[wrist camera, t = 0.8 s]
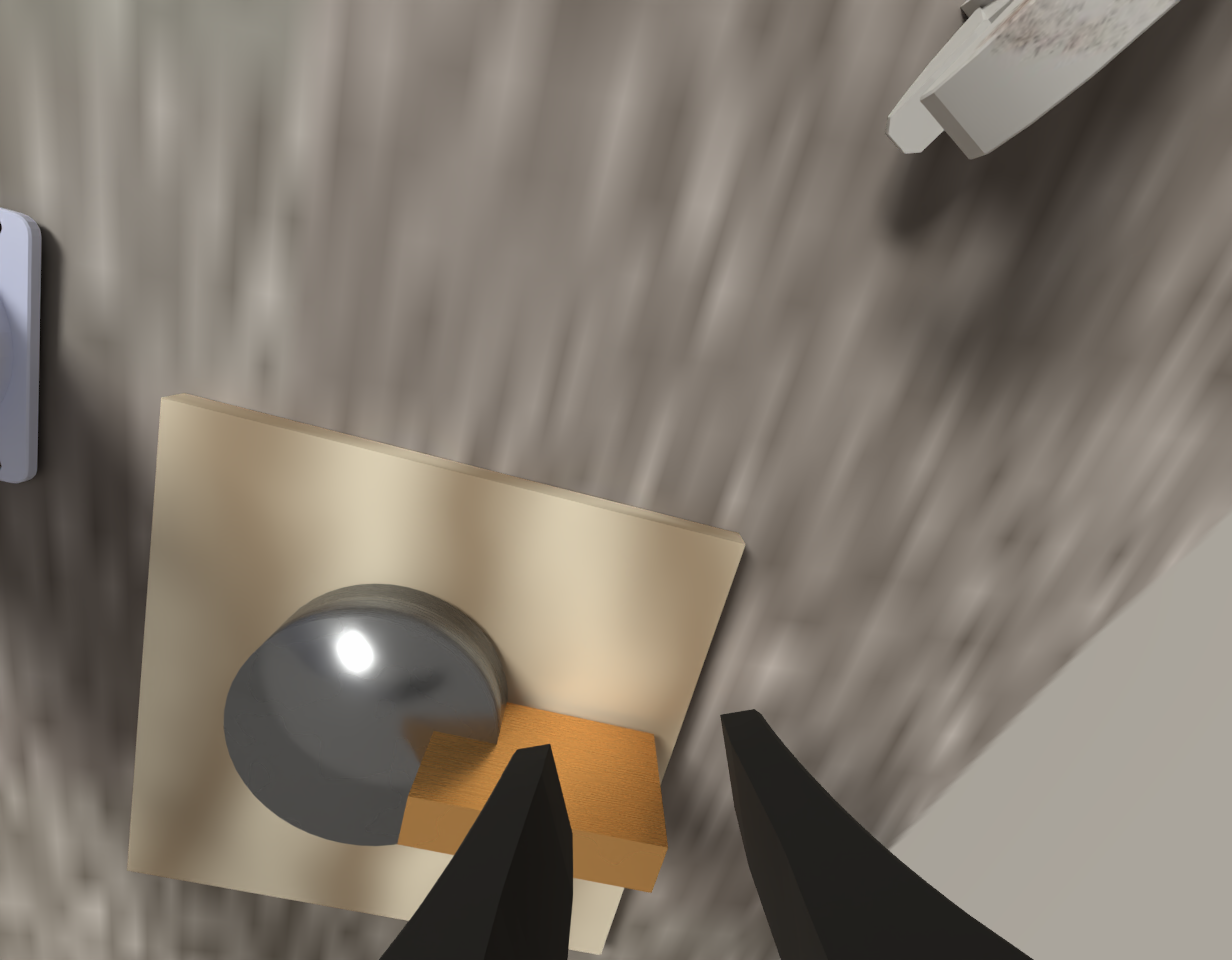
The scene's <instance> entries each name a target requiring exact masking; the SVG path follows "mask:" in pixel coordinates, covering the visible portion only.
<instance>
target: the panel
mask: <svg viewBox="0 0 1232 960" xmlns="http://www.w3.org/2000/svg"><path fill="white" fill-rule="evenodd" d="M745 545H746V544H745V543H744V541H743V539H742V538H741V536H740V535H739V533H736V532H732V531H728V530H724V529H720V528H716V527H712V526H708V525H704V524H700V523H696V522H692V521H688V520H684V519H680V518H676V517H672V516H668V515H664V514H660V513H657V512H653V511H649V510H645V509H641V508H637V507H633V506H629V505H625V504H621V503H617V502H613V501H609V500H605V499H601V498H597V497H593V496H589V495H585V494H581V493H577V492H573V491H569V490H566V489H562V488H558V487H554V486H550V485H546V484H542V483H538V482H534V481H530V480H526V479H522V478H518V477H514V476H510V475H506V474H502V473H498V472H494V471H490V470H486V469H482V468H478V467H475V466H471V465H467V464H463V463H459V462H455V461H451V460H447V459H443V458H439V457H435V456H431V455H427V454H423V453H419V452H415V451H411V450H407V449H403V448H399V447H395V446H391V445H387V444H383V443H380V442H376V441H372V440H368V439H364V438H360V437H356V436H352V435H348V434H344V433H340V432H336V431H332V430H328V429H324V428H320V427H316V426H312V425H308V424H304V423H300V422H296V421H292V420H289V419H285V418H281V417H277V416H273V415H269V414H265V413H261V412H257V411H253V410H249V409H245V408H241V407H237V406H233V405H229V404H225V403H221V402H217V401H213V400H209V399H205V398H201V397H197V396H194V395H190V394H186V393H182V394H177V395H172V396H167V397H162V398H161V408H160V422H159V436H158V449H157V463H156V477H155V491H154V505H153V519H152V532H151V546H150V560H149V574H148V588H147V601H146V615H145V629H144V643H143V657H142V670H141V684H140V698H139V712H138V726H137V739H136V753H135V767H134V781H133V795H132V808H131V822H130V836H129V850H128V864H127V871H133V872H138V873H144V874H150V875H155V876H161V877H166V878H172V879H178V880H183V881H189V882H194V883H200V884H206V885H211V886H217V887H222V888H228V889H234V890H239V891H245V892H250V893H256V894H262V895H267V896H273V897H278V898H284V899H290V900H295V901H301V902H306V903H312V904H318V905H323V906H329V907H334V908H340V909H346V910H351V911H357V912H362V913H368V914H374V915H379V916H385V917H390V918H396V919H402V920H407V921H409V920H410V919H411V917H412V916H413V915H414V913H415V912H416V910H417V909H418V908H419V906H420V905H421V903H422V902H423V901H424V899H425V898H426V896H427V895H428V893H429V892H430V890H431V889H432V887H433V886H434V884H435V883H436V881H437V880H438V878H439V877H440V875H441V874H442V873H443V871H444V870H445V868H446V867H447V865H448V864H449V862H450V861H451V859H452V858H453V856H454V855H450V854H445V853H440V852H435V851H429V850H424V849H419V848H413V847H408V846H403V845H398V844H395V845H385V846H359V845H351V844H344V843H339V842H335V841H331V840H327V839H323V838H321V837H318V836H315V835H312V834H309V833H307V832H305V831H303V830H301V829H299V828H297V827H294V826H293V825H291V824H289V823H288V822H286V821H285V820H283V819H281V818H280V817H278V816H277V815H276V814H274V813H273V812H272V811H270V810H269V809H268V808H267V807H265V806H264V805H263V804H262V803H261V802H260V801H259V800H258V799H257V798H256V797H255V796H254V795H253V793H252V792H251V791H250V790H249V788H248V787H247V786H246V785H245V784H244V782H243V780H242V779H241V777H240V776H239V774H238V772H237V771H236V769H235V767H234V764H233V762H232V760H231V758H230V755H229V752H228V748H227V745H226V741H225V733H224V708H225V703H226V698H227V695H228V692H229V689H230V687H231V684H232V681H233V680H234V678H235V676H236V675H237V673H238V671H239V669H240V668H241V667H242V665H243V664H244V663H245V662H246V661H247V659H248V658H249V657H250V656H251V655H252V654H253V653H254V652H255V651H256V650H257V649H258V648H259V647H260V646H261V645H262V644H263V643H264V642H265V641H266V640H267V639H268V638H269V637H270V636H271V635H272V634H273V633H274V632H275V631H276V630H277V629H278V628H279V627H280V626H281V625H282V624H283V623H284V622H285V621H286V620H287V619H288V618H289V617H290V616H291V615H293V614H294V613H295V612H296V611H297V610H298V609H299V608H300V607H302V606H303V605H305V604H306V603H308V602H310V601H311V600H313V599H315V598H317V597H319V596H321V595H323V594H325V593H327V592H330V591H333V590H336V589H340V588H343V587H348V586H354V585H360V584H392V585H398V586H404V587H409V588H412V589H416V590H419V591H423V592H426V593H428V594H430V595H433V596H435V597H437V598H440V599H442V600H443V601H445V602H447V603H449V604H450V605H452V606H454V607H455V608H457V609H458V610H459V611H461V612H462V613H464V614H465V615H466V616H468V617H469V618H470V619H471V620H472V621H473V622H474V623H475V624H476V625H477V626H478V627H479V628H480V629H481V630H482V632H483V633H484V634H485V635H486V637H487V638H488V639H489V640H490V642H491V644H492V645H493V647H494V649H495V650H496V652H497V654H498V656H499V659H500V661H501V663H502V665H503V669H504V673H505V676H506V681H507V689H508V703H513V704H517V705H522V706H526V707H531V708H536V709H540V710H545V711H550V712H554V713H559V714H563V715H568V716H573V717H577V718H582V719H587V720H591V721H596V722H600V723H605V724H610V725H614V726H619V727H624V728H628V729H633V730H637V731H642V732H647V733H651V734H654V740H655V748H656V756H657V764H658V772H659V780H660V785H661V783H662V780H663V777H664V774H665V771H666V768H667V766H668V763H669V760H670V757H671V754H672V751H673V749H674V746H675V743H676V740H677V737H678V734H679V732H680V729H681V726H682V723H683V720H684V717H685V715H686V712H687V709H688V706H689V703H690V700H691V698H692V695H693V692H694V689H695V686H696V683H697V681H698V678H699V675H700V672H701V669H702V666H703V664H704V661H705V658H706V655H707V652H708V650H709V647H710V644H711V641H712V638H713V635H714V633H715V630H716V627H717V624H718V621H719V618H720V616H721V613H722V610H723V607H724V604H725V601H726V599H727V596H728V593H729V590H730V587H731V584H732V582H733V579H734V576H735V573H736V570H737V567H738V565H739V562H740V559H741V556H742V553H743V550H744V548H745ZM623 890H624V887H618V886H613V885H608V884H603V883H597V882H592V881H587V880H582V879H576V878H573V904H572V915H571V926H570V937H569V947H568V949H570V950H575V951H581V952H586V953H592V954H598V955H601V953H602V950H603V947H604V944H605V941H606V938H607V936H608V933H609V930H610V927H611V924H612V921H613V919H614V916H615V913H616V910H617V907H618V904H619V902H620V899H621V896H622V893H623Z"/></svg>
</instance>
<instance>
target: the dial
mask: <svg viewBox="0 0 1232 960" xmlns="http://www.w3.org/2000/svg"><path fill="white" fill-rule="evenodd" d="M224 733H225V741H226V745H227V748H228V752H229V755H230V758H231V760H232V762H233V764H234V767H235V769H236V771H237V772H238V774H239V776H240V777H241V779H242V780H243V782H244V784H245V785H246V786H247V787H248V788H249V790H250V791H251V792H252V793H253V795H254V796H255V797H256V798H257V799H258V800H259V801H260V802H261V803H262V804H263V805H264V806H265V807H267V808H268V809H269V810H270V811H272V812H273V813H274V814H276V815H277V816H278V817H280V818H281V819H283V820H285V821H286V822H288V823H289V824H291V825H293V826H294V827H297V828H299V829H301V830H303V831H305V832H307V833H309V834H312V835H315V836H318V837H321V838H323V839H327V840H331V841H335V842H339V843H344V844H351V845H359V846H385V845H395V844H398V845H403V846H408V847H413V848H419V849H424V850H429V851H435V852H440V853H445V854H450V855H455V853H456V851H457V850H458V848H459V847H460V845H461V843H462V842H463V840H464V838H465V837H466V835H467V833H468V832H469V830H470V829H471V827H472V825H473V824H474V822H475V820H476V819H477V817H478V816H479V814H480V812H481V810H482V809H483V807H484V805H485V804H486V802H487V800H488V798H489V797H490V795H491V793H492V791H493V790H494V788H495V786H496V784H497V783H498V781H499V779H500V777H501V775H502V774H503V772H504V770H505V768H506V766H507V764H508V763H509V761H510V759H511V757H512V755H513V754H514V753H515V752H516V750H517V749H521V748H527V747H533V746H539V745H545V744H550V745H551V749H552V753H553V757H554V761H555V765H556V769H557V773H558V777H559V781H560V785H561V789H562V793H563V797H564V801H565V805H566V809H567V813H568V817H569V821H570V825H571V829H572V833H573V878H576V879H582V880H587V881H592V882H597V883H603V884H608V885H613V886H618V887H624V888H629V889H634V890H640V891H645V892H650V893H652V890H653V887H654V884H655V882H656V879H657V876H658V874H659V871H660V868H661V865H662V863H663V860H664V857H665V855H666V852H667V849H668V844H667V836H666V828H665V820H664V812H663V804H662V796H661V788H660V780H659V772H658V764H657V756H656V748H655V740H654V734H651V733H647V732H642V731H637V730H633V729H628V728H624V727H619V726H614V725H610V724H605V723H600V722H596V721H591V720H587V719H582V718H577V717H573V716H568V715H563V714H559V713H554V712H550V711H545V710H540V709H536V708H531V707H526V706H522V705H517V704H513V703H508V689H507V681H506V676H505V673H504V669H503V665H502V663H501V661H500V659H499V656H498V654H497V652H496V650H495V649H494V647H493V645H492V644H491V642H490V640H489V639H488V638H487V637H486V635H485V634H484V633H483V632H482V630H481V629H480V628H479V627H478V626H477V625H476V624H475V623H474V622H473V621H472V620H471V619H470V618H469V617H468V616H466V615H465V614H464V613H462V612H461V611H459V610H458V609H457V608H455V607H454V606H452V605H450V604H449V603H447V602H445V601H443V600H442V599H440V598H437V597H435V596H433V595H430V594H428V593H426V592H423V591H419V590H416V589H412V588H409V587H404V586H398V585H392V584H360V585H354V586H348V587H343V588H340V589H336V590H333V591H330V592H327V593H325V594H323V595H321V596H319V597H317V598H315V599H313V600H311V601H310V602H308V603H306V604H305V605H303V606H302V607H300V608H299V609H298V610H297V611H296V612H295V613H294V614H293V615H291V616H290V617H289V618H288V619H287V620H286V621H285V622H284V623H283V624H282V625H281V626H280V627H279V628H278V629H277V630H276V631H275V632H274V633H273V634H272V635H271V636H270V637H269V638H268V639H267V640H266V641H265V642H264V643H263V644H262V645H261V646H260V647H259V648H258V649H257V650H256V651H255V652H254V653H253V654H252V655H251V656H250V657H249V658H248V659H247V661H246V662H245V663H244V664H243V665H242V667H241V668H240V669H239V671H238V673H237V675H236V676H235V678H234V680H233V681H232V684H231V687H230V689H229V692H228V695H227V698H226V703H225V708H224Z"/></svg>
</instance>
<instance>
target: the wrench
mask: <svg viewBox="0 0 1232 960" xmlns="http://www.w3.org/2000/svg"><path fill="white" fill-rule="evenodd" d="M1179 1H1180V0H967V1H966V2H965V3H964V4H963V5H962V6H961V9H962V10H963V11H964V12H965V14H966V15H967V16H968V20H967V21H966V22H965V23H964V24H963V25H962V26H961V27H960V29H959V30H958V31H957V32H956V33H955V34H954V35H953V37H952V38H951V39H950V40H949V41H948V42H947V44H946V45H945V46H944V47H943V48H942V49H941V50H940V52H939V53H938V54H937V55H936V56H935V57H934V58H933V60H932V61H931V62H930V63H929V64H928V66H927V67H926V68H925V69H924V71H923V72H922V73H921V74H920V76H919V77H918V78H917V79H916V81H915V82H914V83H913V84H912V86H911V87H910V88H909V89H908V91H907V92H906V93H905V94H904V96H903V97H902V98H901V100H900V101H899V102H898V104H897V105H896V107H895V108H894V109H893V111H892V112H891V113H890V115H889V116H888V118H887V124H886V130H885V134H886V135H887V136H888V137H889V139H890V140H891V141H892V142H893V143H894V144H895V145H896V147H897V148H898V149H899V150H900V151H901V152H902V153H905V154H906V153H920V152H922V151H923V150H924V149H925V148H926V147H927V146H928V145H929V144H930V143H931V142H932V141H933V140H934V139H935V138H936V137H938V136H939V135H940V134H941V133H942V132H943V131H944V130H945V131H946V133H947V134H948V135H949V136H950V137H951V139H952V140H953V141H954V142H955V143H956V144H957V146H958V147H959V148H960V149H961V150H962V152H963V153H964V154H965V155H966V156H967V158H968V159H975V158H978V157H981V156H984V155H987V154H989V153H990V152H992V151H993V150H995V149H996V148H998V147H999V146H1001V145H1002V144H1004V143H1005V142H1007V141H1008V140H1010V139H1011V138H1012V137H1014V136H1015V135H1017V134H1018V133H1020V132H1021V131H1023V130H1024V129H1026V128H1027V127H1029V126H1030V125H1031V124H1033V123H1034V122H1035V121H1037V120H1038V119H1039V118H1041V117H1042V116H1043V115H1044V114H1046V113H1047V112H1048V111H1050V110H1051V109H1052V108H1053V107H1055V106H1056V105H1057V104H1059V103H1060V102H1061V101H1062V100H1064V99H1065V98H1066V97H1068V96H1069V95H1070V94H1071V93H1073V92H1074V91H1075V90H1077V89H1078V88H1079V87H1080V86H1082V85H1083V84H1084V83H1086V82H1087V81H1088V80H1089V79H1091V78H1092V77H1093V76H1094V75H1096V74H1097V73H1098V72H1099V71H1100V70H1101V69H1102V68H1104V67H1105V66H1106V65H1107V64H1108V63H1109V62H1110V61H1112V60H1113V59H1114V58H1115V57H1116V56H1117V55H1118V54H1120V53H1121V52H1122V51H1123V50H1124V49H1125V48H1127V47H1128V46H1129V45H1130V44H1131V43H1132V42H1133V41H1135V40H1136V39H1137V38H1138V37H1139V36H1140V35H1141V34H1143V33H1144V32H1145V31H1146V30H1147V29H1148V28H1149V27H1151V26H1152V25H1153V24H1154V23H1155V22H1156V21H1158V20H1159V19H1160V18H1161V17H1162V16H1163V15H1164V14H1166V13H1167V12H1168V11H1169V10H1170V9H1171V8H1172V7H1174V6H1175V5H1176V4H1177V3H1178V2H1179Z"/></svg>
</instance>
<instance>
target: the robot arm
mask: <svg viewBox="0 0 1232 960" xmlns="http://www.w3.org/2000/svg"><path fill="white" fill-rule="evenodd" d="M0 222H1V226H2V230H1V233H0V462H1V466H2V467H0V481H5V482H9V483H21V482H24V481H27V480H30V479H32V478H33V477H34V476H35V475H36V472H37V456H38V402H39V347H40V293H41V238H42V237H41V231H40V228H39V227H38V225H37V223H36V222H35V221H34V220H33V219H32V218H31V217H29V216H27V215H25V214H23V213H20V212H16V211H12V210H9V209H5V208H1V207H0ZM720 716H721V722H722V729H723V735H724V742H725V748H726V755H727V761H728V768H729V774H730V781H731V787H732V794H733V800H734V807H735V811H736V815H737V819H738V823H739V827H740V832H741V836H742V840H743V844H744V848H745V852H746V856H747V860H748V864H749V868H750V871H751V874H752V877H753V880H754V883H755V885H756V888H757V891H758V894H759V897H760V900H761V903H762V906H763V909H764V912H765V915H766V917H767V920H768V923H769V926H770V929H771V932H772V935H773V938H774V941H775V943H776V946H777V949H778V952H779V955H780V958H781V960H1033V959H1032V958H1030V957H1029V956H1028V955H1026V954H1025V953H1023V952H1022V951H1020V950H1019V949H1017V948H1016V947H1014V946H1013V945H1012V944H1010V943H1009V942H1007V941H1006V940H1005V939H1003V938H1002V937H1000V936H999V935H997V934H996V933H994V932H993V931H992V930H990V929H989V928H987V927H986V926H984V925H983V924H982V923H980V922H978V921H977V920H976V919H974V918H973V917H971V916H970V915H969V914H967V913H966V912H965V911H963V910H962V909H961V908H959V907H958V906H957V905H955V904H954V903H953V902H951V901H950V900H949V899H947V898H946V897H945V896H944V895H942V894H941V893H940V892H939V891H937V890H936V889H935V888H933V887H932V886H931V885H930V884H928V883H927V882H926V881H925V880H923V879H922V878H921V877H919V876H918V875H917V874H916V873H915V872H914V871H912V870H911V869H910V868H909V867H907V866H906V865H905V864H904V863H903V862H901V861H900V860H899V859H898V858H897V857H896V856H894V855H893V854H892V853H891V852H890V851H889V850H888V849H886V848H885V847H884V846H883V845H882V844H881V843H880V842H879V841H877V840H876V839H875V838H874V837H873V836H872V835H871V834H870V833H869V832H868V831H867V830H865V829H864V828H863V827H862V826H861V825H860V824H859V823H858V822H857V821H856V820H855V819H854V818H853V817H852V816H851V815H850V814H848V813H847V812H846V811H845V810H844V809H843V808H842V807H841V806H840V805H839V804H838V803H837V802H836V801H835V800H834V799H833V798H832V797H831V795H830V794H829V793H828V792H827V791H826V790H825V789H824V788H823V787H822V786H821V785H820V784H819V783H818V782H817V781H816V780H815V779H814V778H813V777H812V775H811V774H810V773H809V772H808V771H807V770H806V769H805V768H804V767H803V766H802V765H801V763H800V762H799V761H798V760H797V759H796V758H795V757H794V755H793V754H792V753H791V752H790V751H789V750H788V748H787V747H786V746H785V745H784V744H783V742H782V741H781V740H780V739H779V737H778V736H777V735H776V734H775V732H774V731H773V730H772V728H771V727H770V726H769V724H768V723H767V722H766V720H765V719H764V718H763V716H762V715H761V714H760V713H759V712H758V711H756V710H755V709H753V710H747V711H741V712H735V713H729V714H723V715H720ZM572 904H573V833H572V829H571V825H570V821H569V817H568V813H567V809H566V805H565V801H564V797H563V793H562V789H561V785H560V781H559V777H558V773H557V769H556V765H555V761H554V757H553V753H552V749H551V745H550V744H545V745H539V746H533V747H527V748H521V749H517V750H516V752H515V753H514V754H513V755H512V757H511V759H510V761H509V763H508V764H507V766H506V768H505V770H504V772H503V774H502V775H501V777H500V779H499V781H498V783H497V784H496V786H495V788H494V790H493V791H492V793H491V795H490V797H489V798H488V800H487V802H486V804H485V805H484V807H483V809H482V810H481V812H480V814H479V816H478V817H477V819H476V820H475V822H474V824H473V825H472V827H471V829H470V830H469V832H468V833H467V835H466V837H465V838H464V840H463V842H462V843H461V845H460V847H459V848H458V850H457V851H456V853H455V855H454V856H453V858H452V859H451V861H450V862H449V864H448V865H447V867H446V868H445V870H444V871H443V873H442V874H441V875H440V877H439V878H438V880H437V881H436V883H435V884H434V886H433V887H432V889H431V890H430V892H429V893H428V895H427V896H426V898H425V899H424V901H423V902H422V903H421V905H420V906H419V908H418V909H417V910H416V912H415V913H414V915H413V916H412V917H411V919H410V920H409V921H408V923H407V924H406V926H405V927H404V928H403V930H402V931H401V932H400V933H399V935H398V936H397V937H396V939H395V940H394V941H393V943H392V944H391V945H390V946H389V948H388V949H387V950H386V952H385V953H384V954H383V955H382V957H381V958H380V959H379V960H567V958H568V947H569V937H570V926H571V915H572Z"/></svg>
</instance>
